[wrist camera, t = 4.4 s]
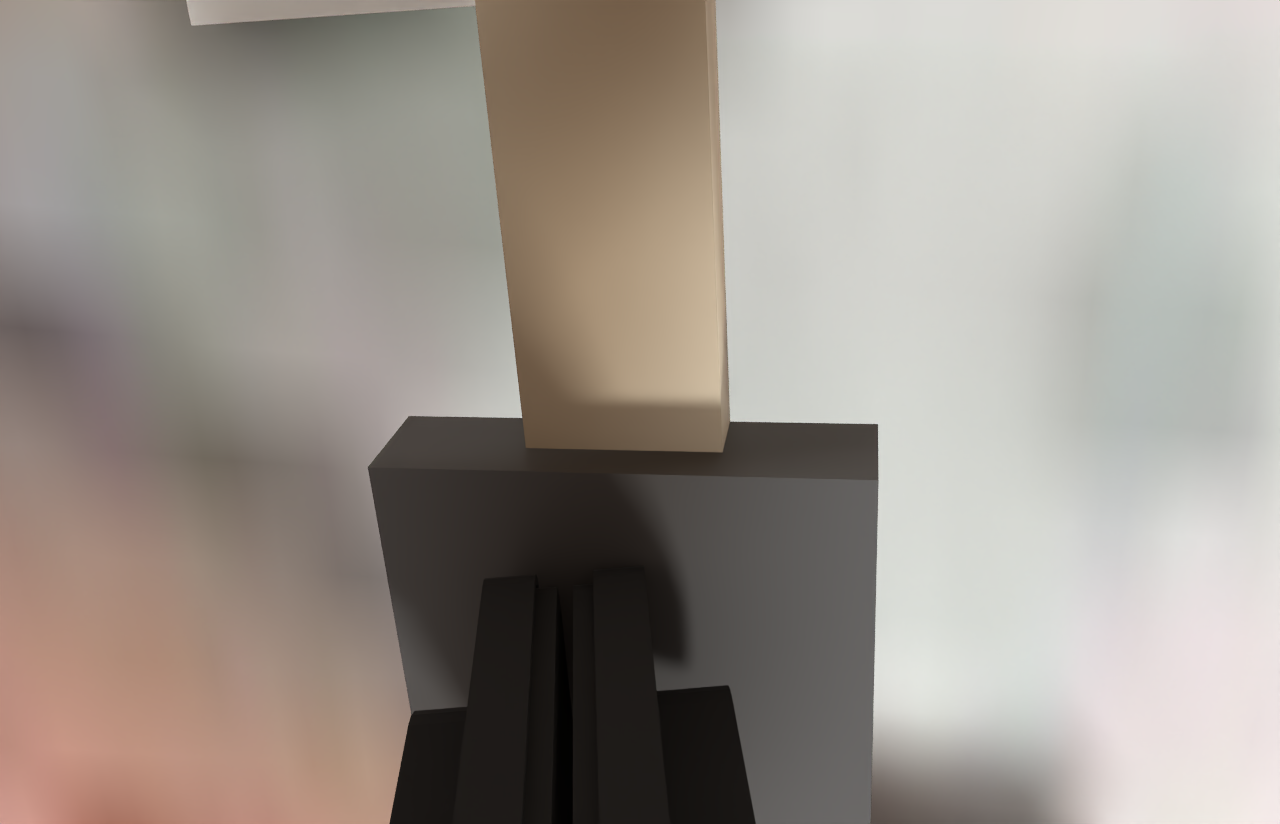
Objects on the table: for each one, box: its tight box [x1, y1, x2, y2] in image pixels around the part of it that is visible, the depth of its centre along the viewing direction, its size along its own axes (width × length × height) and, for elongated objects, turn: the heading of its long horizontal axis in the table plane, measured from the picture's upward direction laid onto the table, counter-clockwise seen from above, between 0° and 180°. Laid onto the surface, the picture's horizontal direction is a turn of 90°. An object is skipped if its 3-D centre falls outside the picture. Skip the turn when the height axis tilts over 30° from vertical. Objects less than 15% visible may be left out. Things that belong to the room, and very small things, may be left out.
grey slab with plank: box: [368, 0, 878, 824], centre depth 11 cm, size 22×18×7 cm
